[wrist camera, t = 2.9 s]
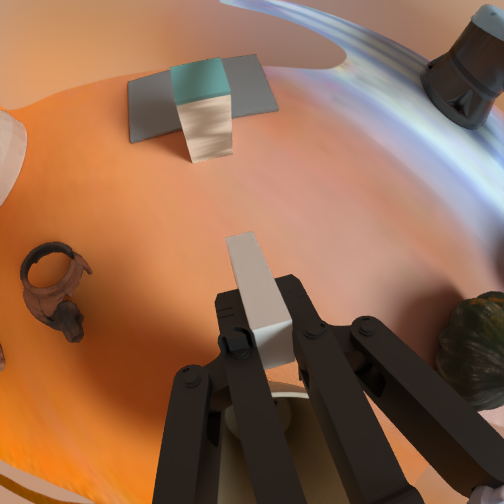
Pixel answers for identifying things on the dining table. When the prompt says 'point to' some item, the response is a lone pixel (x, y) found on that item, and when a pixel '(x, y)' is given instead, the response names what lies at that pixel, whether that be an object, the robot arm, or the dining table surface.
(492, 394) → the squash
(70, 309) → the vr controller
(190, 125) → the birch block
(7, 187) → the kettle
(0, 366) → the cupcake
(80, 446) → the dining table surface
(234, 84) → the mat
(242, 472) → the plant pot
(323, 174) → the dining table surface
